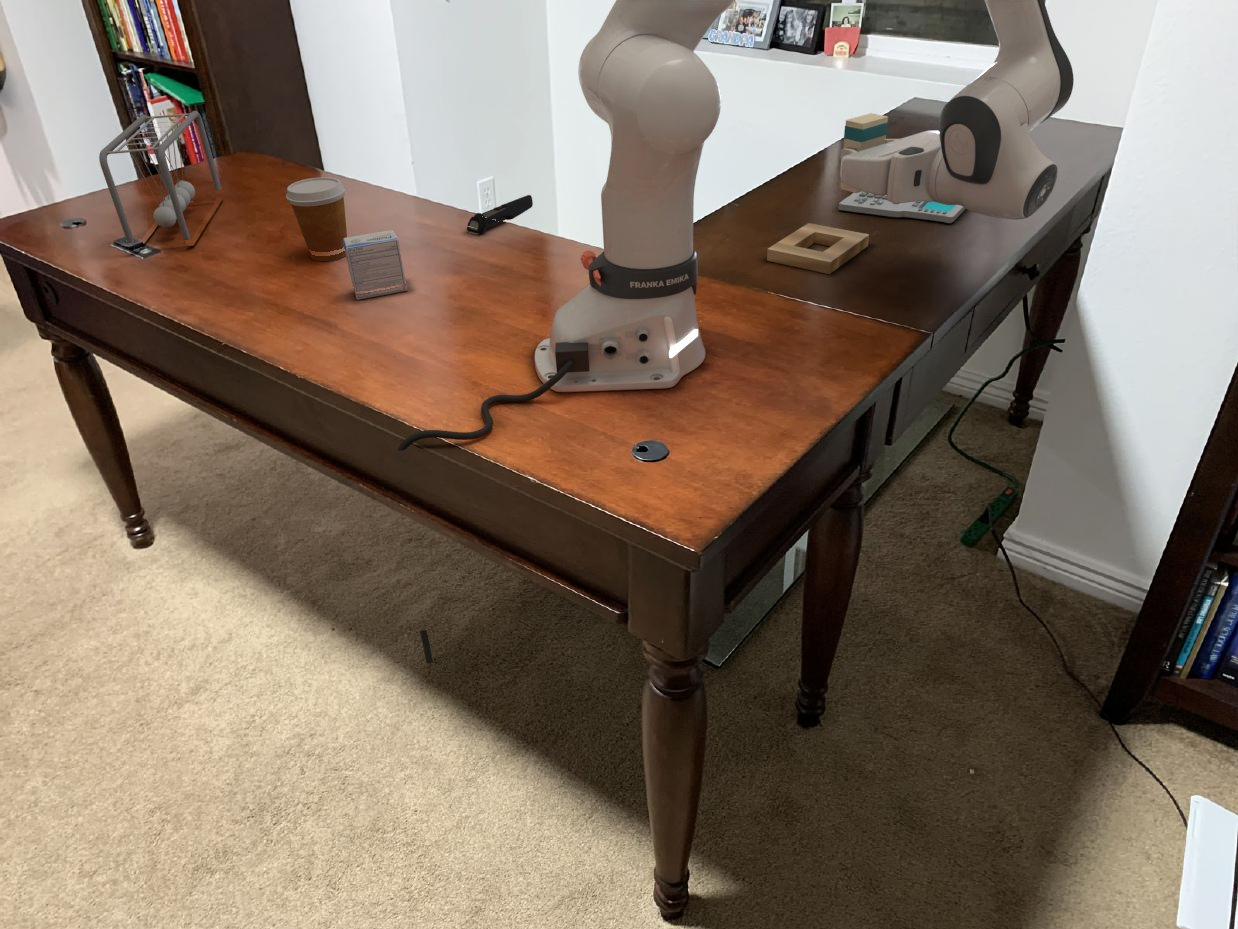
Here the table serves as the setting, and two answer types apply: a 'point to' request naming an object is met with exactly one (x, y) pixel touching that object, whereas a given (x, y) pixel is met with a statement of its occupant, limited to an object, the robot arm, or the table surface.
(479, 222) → the electric trimmer
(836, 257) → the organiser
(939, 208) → the office telephone
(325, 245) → the disposable coffee cup
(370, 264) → the medicine box
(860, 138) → the box
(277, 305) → the table surface
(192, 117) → the newton's cradle
